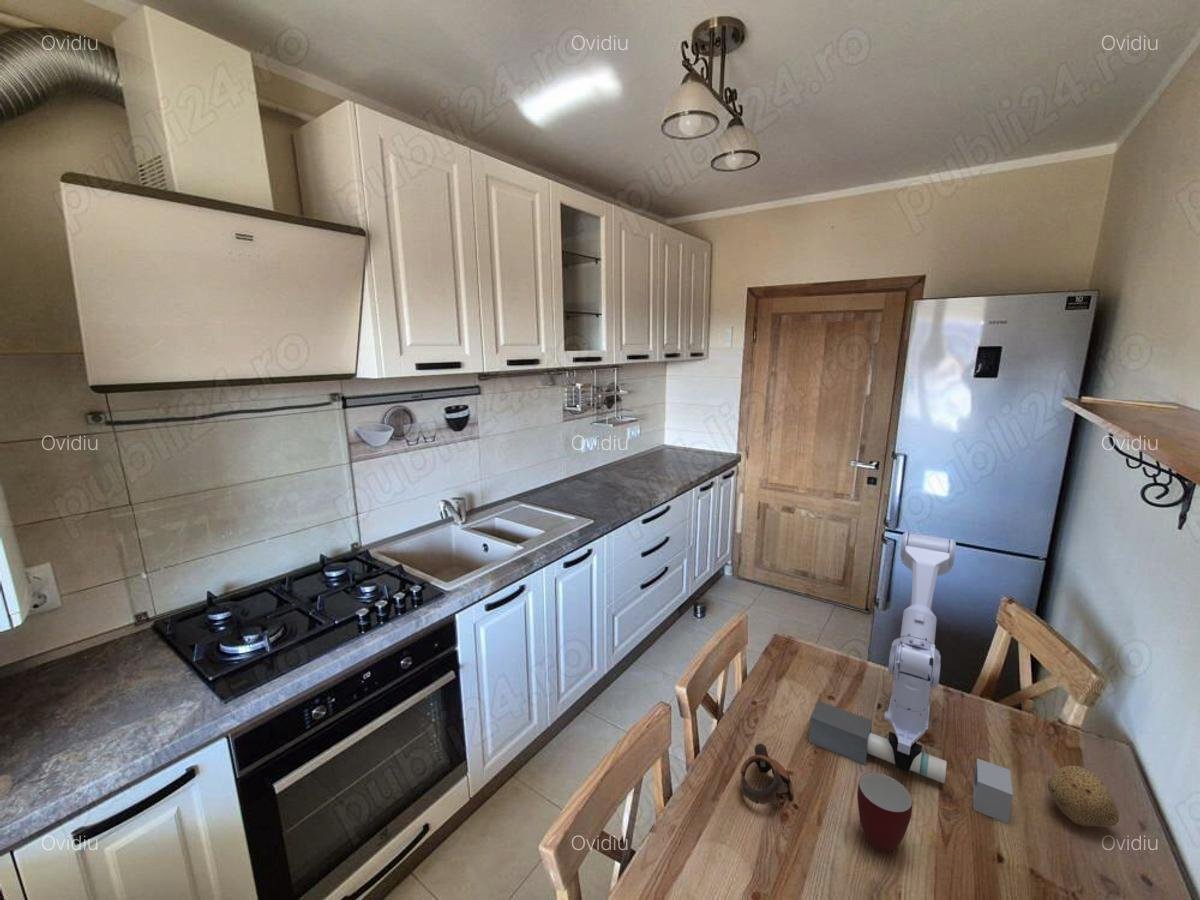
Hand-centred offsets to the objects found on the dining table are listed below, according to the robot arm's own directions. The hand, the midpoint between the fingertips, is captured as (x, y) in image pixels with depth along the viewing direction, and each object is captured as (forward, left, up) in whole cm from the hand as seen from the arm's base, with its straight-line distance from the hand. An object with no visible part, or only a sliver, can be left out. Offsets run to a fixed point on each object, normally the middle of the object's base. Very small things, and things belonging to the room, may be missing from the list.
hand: (903, 761), depth 101 cm
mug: (+19, -2, -2) cm, 19 cm away
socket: (0, +14, -2) cm, 14 cm away
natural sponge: (-5, +27, -2) cm, 27 cm away
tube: (0, -5, -1) cm, 5 cm away
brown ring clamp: (+21, -21, -2) cm, 30 cm away
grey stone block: (0, -12, -2) cm, 12 cm away
